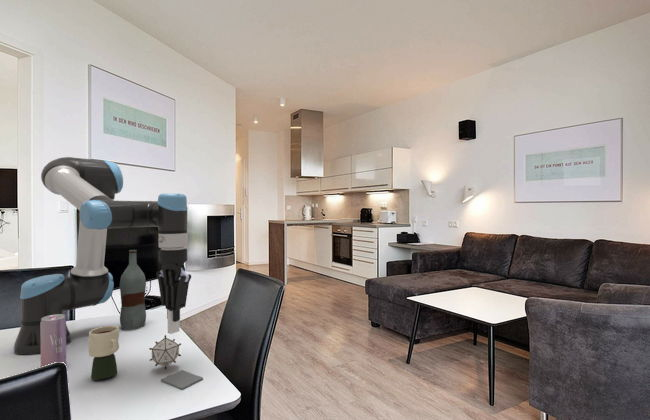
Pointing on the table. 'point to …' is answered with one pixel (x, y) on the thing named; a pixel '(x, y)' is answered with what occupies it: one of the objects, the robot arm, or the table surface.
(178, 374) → the grey rubber mat
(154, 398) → the table surface
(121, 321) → the bottle
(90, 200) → the robot arm
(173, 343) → the game die
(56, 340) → the beverage can
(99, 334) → the character mug
